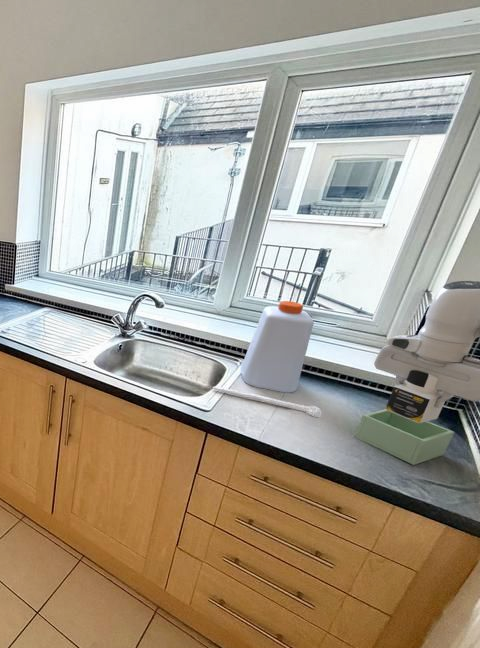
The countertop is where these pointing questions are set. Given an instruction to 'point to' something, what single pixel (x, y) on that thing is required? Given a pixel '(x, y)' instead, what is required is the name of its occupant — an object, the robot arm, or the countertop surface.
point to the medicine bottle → (416, 398)
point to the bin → (403, 436)
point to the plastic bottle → (278, 348)
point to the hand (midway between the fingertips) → (417, 399)
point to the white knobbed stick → (273, 401)
